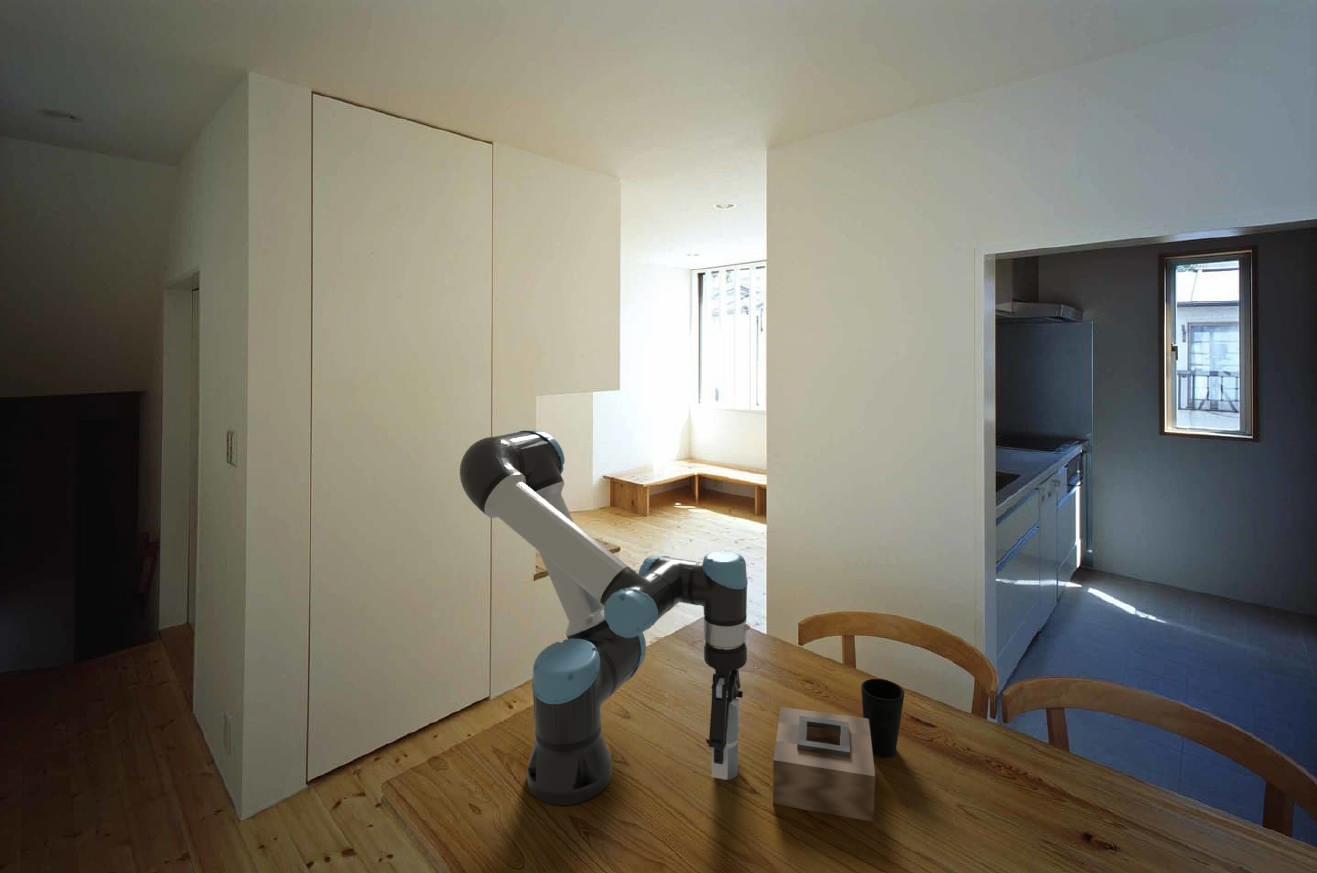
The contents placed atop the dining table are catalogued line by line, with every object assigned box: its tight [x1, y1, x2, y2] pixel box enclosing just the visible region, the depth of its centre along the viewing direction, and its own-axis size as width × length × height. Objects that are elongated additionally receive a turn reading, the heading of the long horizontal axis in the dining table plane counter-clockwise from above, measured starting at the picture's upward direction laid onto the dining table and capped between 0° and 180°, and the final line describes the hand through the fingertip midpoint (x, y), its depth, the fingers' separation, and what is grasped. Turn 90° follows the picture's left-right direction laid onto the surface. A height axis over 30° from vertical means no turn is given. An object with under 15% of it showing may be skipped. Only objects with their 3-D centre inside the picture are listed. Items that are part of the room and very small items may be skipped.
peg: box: [722, 704, 739, 781], centre depth 110 cm, size 4×4×12 cm
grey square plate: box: [810, 739, 837, 745], centre depth 107 cm, size 5×5×1 cm
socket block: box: [772, 706, 876, 823], centre depth 107 cm, size 16×16×9 cm
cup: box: [860, 678, 905, 758], centre depth 115 cm, size 8×8×12 cm
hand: (725, 753), depth 110 cm, fingers open, 12 cm apart
